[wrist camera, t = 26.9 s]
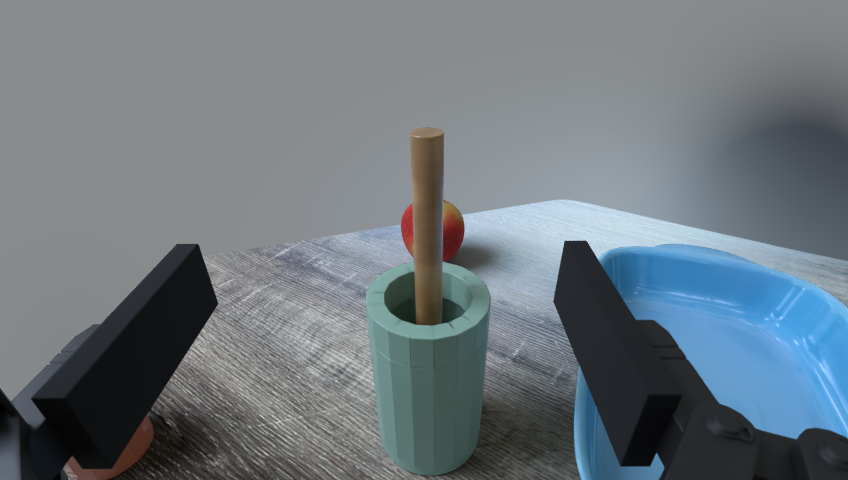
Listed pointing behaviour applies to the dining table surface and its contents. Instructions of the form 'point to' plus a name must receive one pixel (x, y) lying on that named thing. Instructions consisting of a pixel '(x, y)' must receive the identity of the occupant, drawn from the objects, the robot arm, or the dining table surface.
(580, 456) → the casserole dish
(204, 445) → the dining table surface
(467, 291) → the green cylindrical holder
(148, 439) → the cup
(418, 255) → the tan long rod
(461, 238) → the apple
